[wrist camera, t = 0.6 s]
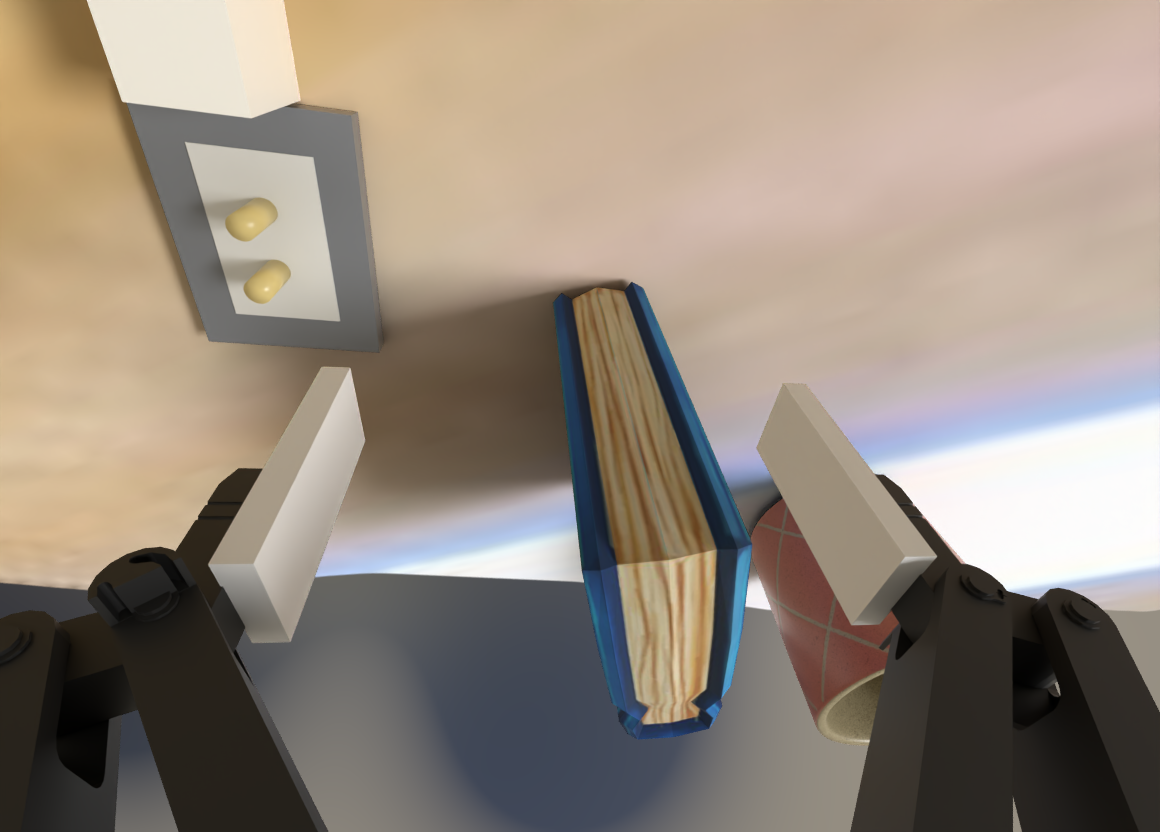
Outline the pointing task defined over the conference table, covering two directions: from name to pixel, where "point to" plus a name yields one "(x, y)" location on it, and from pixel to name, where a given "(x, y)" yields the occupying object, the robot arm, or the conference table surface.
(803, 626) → the planter
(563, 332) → the book
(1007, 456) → the conference table surface
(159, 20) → the block
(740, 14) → the conference table surface
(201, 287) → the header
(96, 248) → the conference table surface
